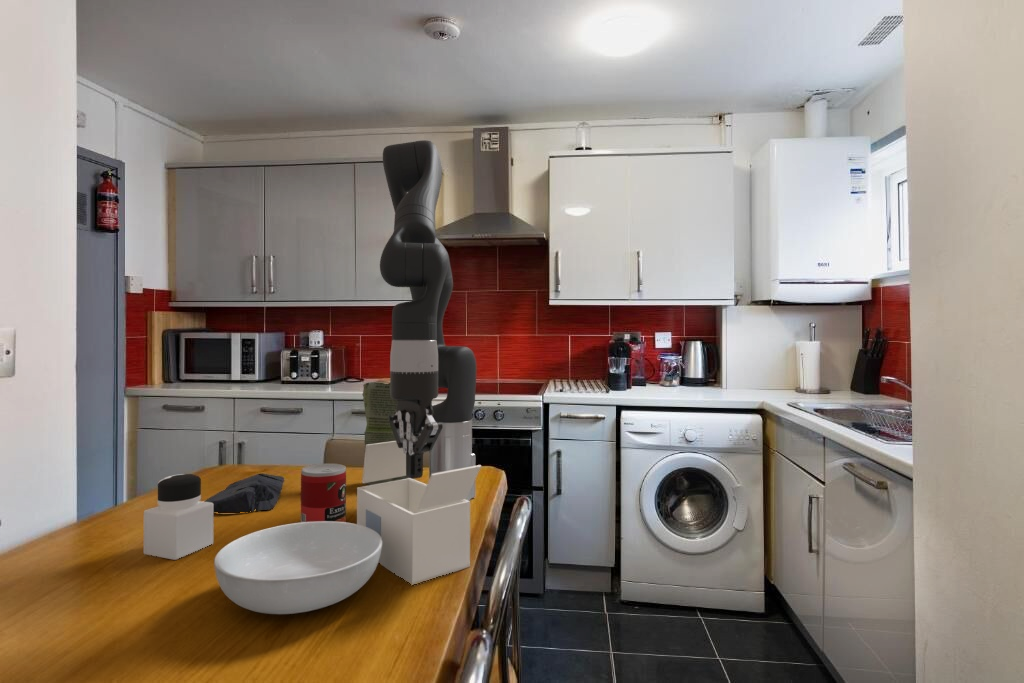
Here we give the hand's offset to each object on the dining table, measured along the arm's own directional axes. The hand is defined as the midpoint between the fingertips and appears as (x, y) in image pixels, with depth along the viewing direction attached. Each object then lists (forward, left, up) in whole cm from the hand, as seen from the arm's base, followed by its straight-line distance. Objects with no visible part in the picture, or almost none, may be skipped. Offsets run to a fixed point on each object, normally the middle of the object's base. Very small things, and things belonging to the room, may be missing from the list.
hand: (414, 477), depth 85 cm
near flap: (0, +10, +1) cm, 10 cm away
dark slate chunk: (+12, -51, -14) cm, 54 cm away
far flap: (0, -8, +1) cm, 8 cm away
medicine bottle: (+28, -27, -13) cm, 41 cm away
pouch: (-18, -41, -13) cm, 47 cm away
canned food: (+6, -22, -13) cm, 26 cm away
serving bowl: (+18, +2, -13) cm, 22 cm away
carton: (0, 0, -13) cm, 13 cm away
